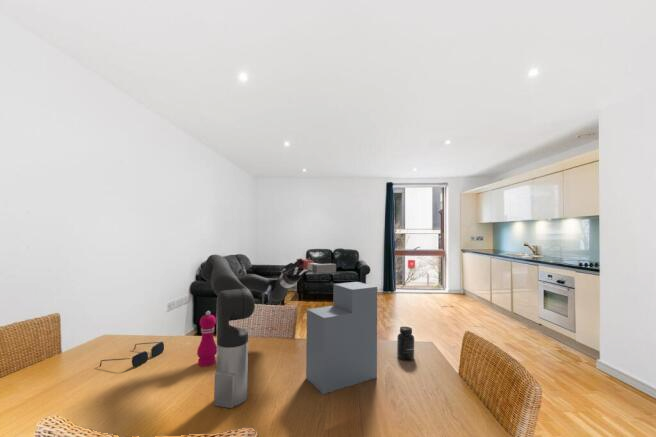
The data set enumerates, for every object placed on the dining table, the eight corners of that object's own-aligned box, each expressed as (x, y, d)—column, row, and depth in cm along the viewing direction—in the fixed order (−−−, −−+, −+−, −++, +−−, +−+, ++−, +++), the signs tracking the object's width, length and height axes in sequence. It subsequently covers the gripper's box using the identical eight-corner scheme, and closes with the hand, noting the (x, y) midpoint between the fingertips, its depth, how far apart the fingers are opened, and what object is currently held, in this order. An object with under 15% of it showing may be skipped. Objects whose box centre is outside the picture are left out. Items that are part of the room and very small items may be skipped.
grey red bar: (291, 267, 124) (291, 259, 124) (308, 266, 128) (308, 258, 128) (316, 274, 106) (316, 264, 106) (336, 272, 110) (336, 263, 110)
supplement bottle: (410, 362, 121) (410, 332, 121) (394, 358, 125) (394, 328, 125) (416, 357, 126) (416, 327, 127) (401, 352, 130) (401, 324, 131)
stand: (306, 378, 107) (307, 286, 108) (356, 364, 119) (357, 281, 120) (323, 394, 97) (324, 292, 98) (376, 377, 108) (377, 286, 109)
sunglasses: (133, 370, 112) (132, 357, 113) (99, 372, 115) (97, 359, 115) (165, 352, 129) (164, 340, 130) (134, 354, 132) (133, 342, 132)
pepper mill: (220, 359, 122) (221, 308, 123) (211, 367, 115) (212, 313, 115) (202, 358, 123) (204, 308, 123) (193, 366, 115) (194, 313, 116)
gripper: (273, 269, 133) (287, 252, 120) (302, 268, 140) (318, 251, 127) (276, 286, 129) (291, 270, 117) (306, 283, 136) (323, 268, 124)
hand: (305, 260), depth 122 cm, fingers closed on grey red bar, 3 cm apart
